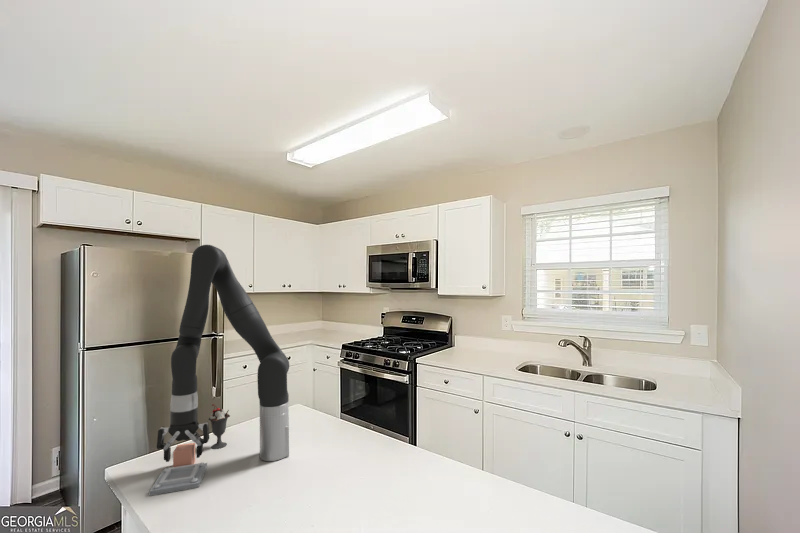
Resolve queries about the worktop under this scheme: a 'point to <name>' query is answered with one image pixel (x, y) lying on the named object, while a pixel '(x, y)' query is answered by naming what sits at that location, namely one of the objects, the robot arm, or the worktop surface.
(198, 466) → the plate
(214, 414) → the sundae
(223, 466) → the worktop surface
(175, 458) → the block
